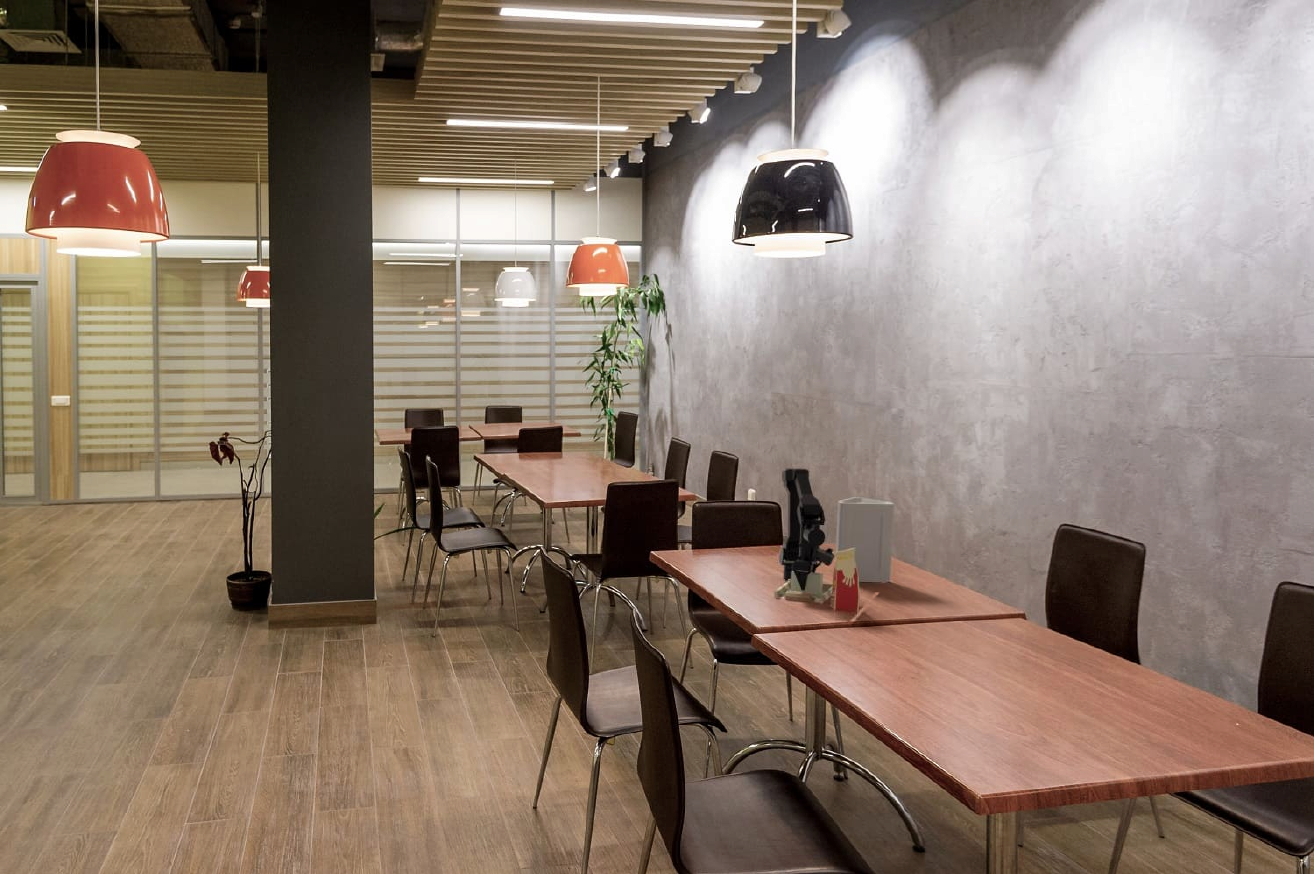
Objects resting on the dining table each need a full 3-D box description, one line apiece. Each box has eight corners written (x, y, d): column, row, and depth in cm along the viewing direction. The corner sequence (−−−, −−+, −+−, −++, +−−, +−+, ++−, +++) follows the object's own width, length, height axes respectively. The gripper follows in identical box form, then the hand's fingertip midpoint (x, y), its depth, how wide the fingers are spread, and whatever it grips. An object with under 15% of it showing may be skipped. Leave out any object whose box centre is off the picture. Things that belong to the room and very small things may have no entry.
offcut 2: (787, 596, 344) (788, 592, 344) (815, 599, 341) (815, 596, 340) (784, 598, 340) (784, 595, 340) (812, 601, 337) (812, 598, 337)
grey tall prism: (879, 574, 387) (883, 498, 385) (890, 583, 373) (894, 504, 370) (827, 573, 386) (831, 496, 384) (837, 582, 371) (840, 503, 369)
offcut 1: (786, 593, 343) (787, 590, 343) (811, 595, 341) (811, 592, 341) (785, 595, 340) (785, 592, 339) (810, 598, 337) (810, 595, 337)
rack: (788, 589, 358) (788, 578, 358) (835, 594, 352) (835, 584, 352) (774, 600, 341) (774, 589, 341) (823, 606, 336) (823, 595, 335)
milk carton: (857, 607, 335) (860, 545, 334) (859, 615, 326) (862, 550, 324) (828, 606, 336) (830, 543, 335) (829, 613, 327) (832, 549, 325)
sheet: (792, 590, 351) (793, 570, 351) (822, 594, 348) (823, 573, 347) (790, 592, 349) (791, 571, 348) (820, 596, 345) (821, 574, 345)
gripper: (826, 547, 335) (824, 596, 336) (839, 538, 352) (836, 584, 354) (792, 544, 339) (790, 592, 341) (806, 535, 356) (804, 580, 358)
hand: (806, 587), depth 348 cm, fingers open, 9 cm apart
